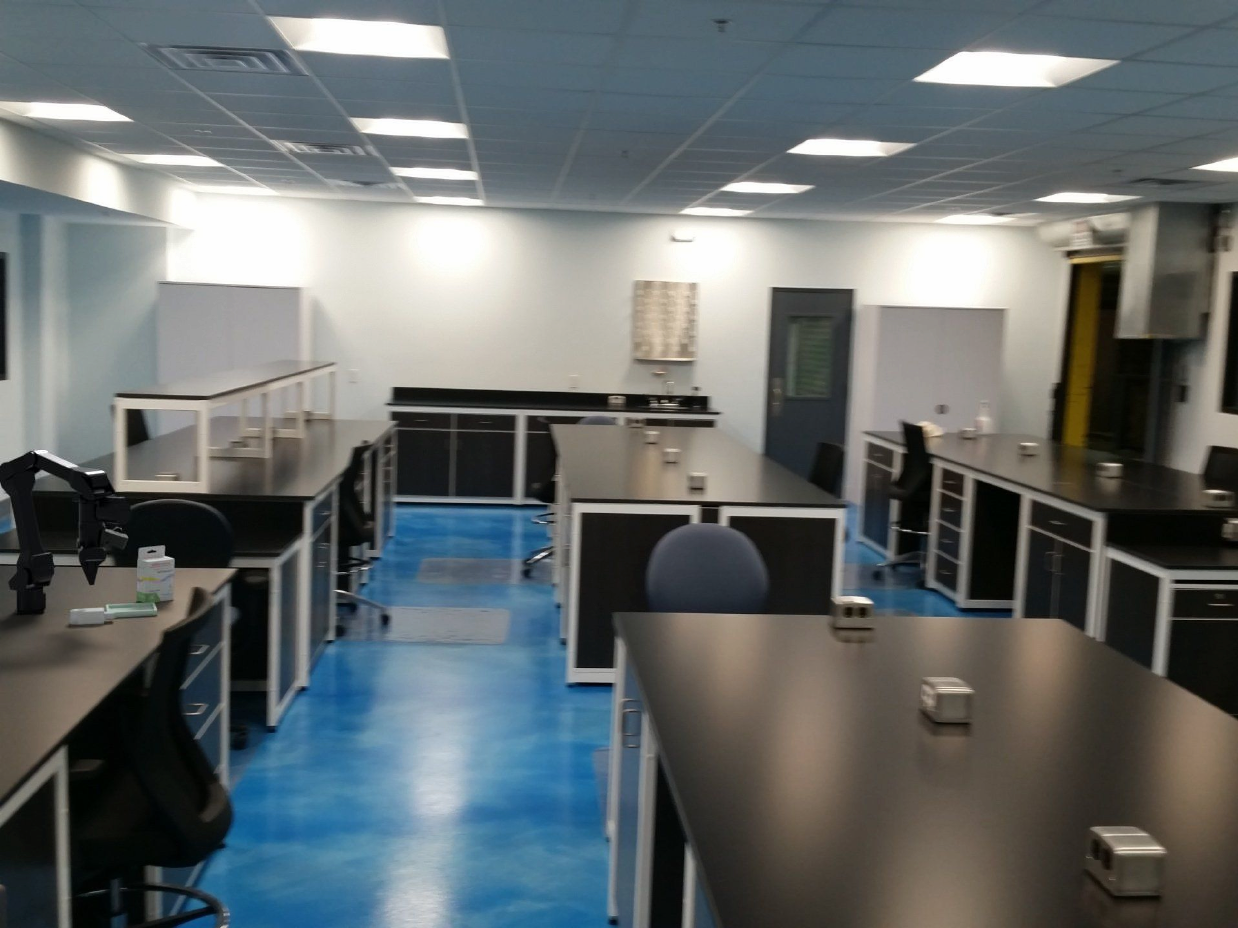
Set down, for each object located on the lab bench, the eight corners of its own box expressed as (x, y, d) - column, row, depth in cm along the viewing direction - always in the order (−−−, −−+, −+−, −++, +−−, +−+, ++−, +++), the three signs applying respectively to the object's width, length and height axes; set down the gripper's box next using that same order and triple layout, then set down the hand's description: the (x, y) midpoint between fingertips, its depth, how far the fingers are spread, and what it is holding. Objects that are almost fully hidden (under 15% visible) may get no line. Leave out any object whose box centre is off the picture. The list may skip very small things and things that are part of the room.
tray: (107, 617, 305) (107, 612, 305) (105, 609, 313) (105, 604, 313) (157, 615, 310) (157, 610, 310) (154, 607, 318) (154, 602, 318)
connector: (70, 624, 296) (70, 612, 296) (70, 621, 300) (70, 609, 299) (114, 622, 301) (114, 610, 301) (113, 619, 304) (113, 607, 304)
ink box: (146, 604, 321) (146, 550, 320) (136, 600, 324) (136, 548, 323) (174, 599, 328) (175, 547, 327) (164, 596, 331) (165, 544, 330)
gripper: (128, 526, 293) (127, 587, 294) (123, 513, 309) (123, 572, 311) (79, 527, 288) (78, 589, 289) (77, 514, 304) (76, 573, 306)
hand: (91, 581), depth 299 cm, fingers open, 9 cm apart
